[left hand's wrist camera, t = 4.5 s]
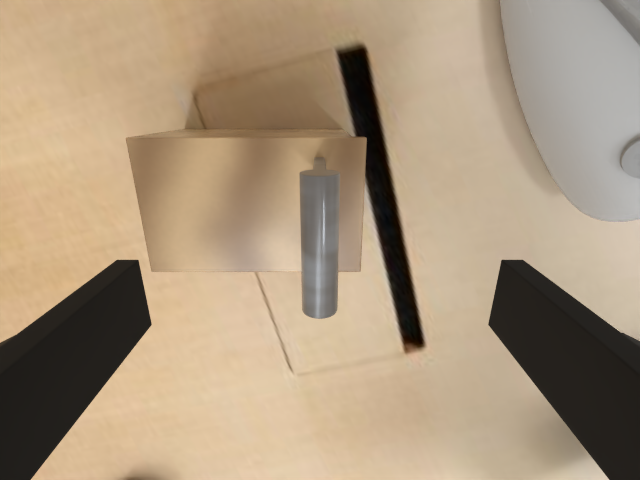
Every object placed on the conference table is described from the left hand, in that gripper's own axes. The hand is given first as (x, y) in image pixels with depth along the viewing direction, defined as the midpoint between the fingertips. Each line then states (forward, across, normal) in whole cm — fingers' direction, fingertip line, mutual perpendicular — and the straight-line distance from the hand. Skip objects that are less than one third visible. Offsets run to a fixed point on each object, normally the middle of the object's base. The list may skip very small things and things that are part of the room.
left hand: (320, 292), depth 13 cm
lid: (+12, +5, 0) cm, 13 cm away
